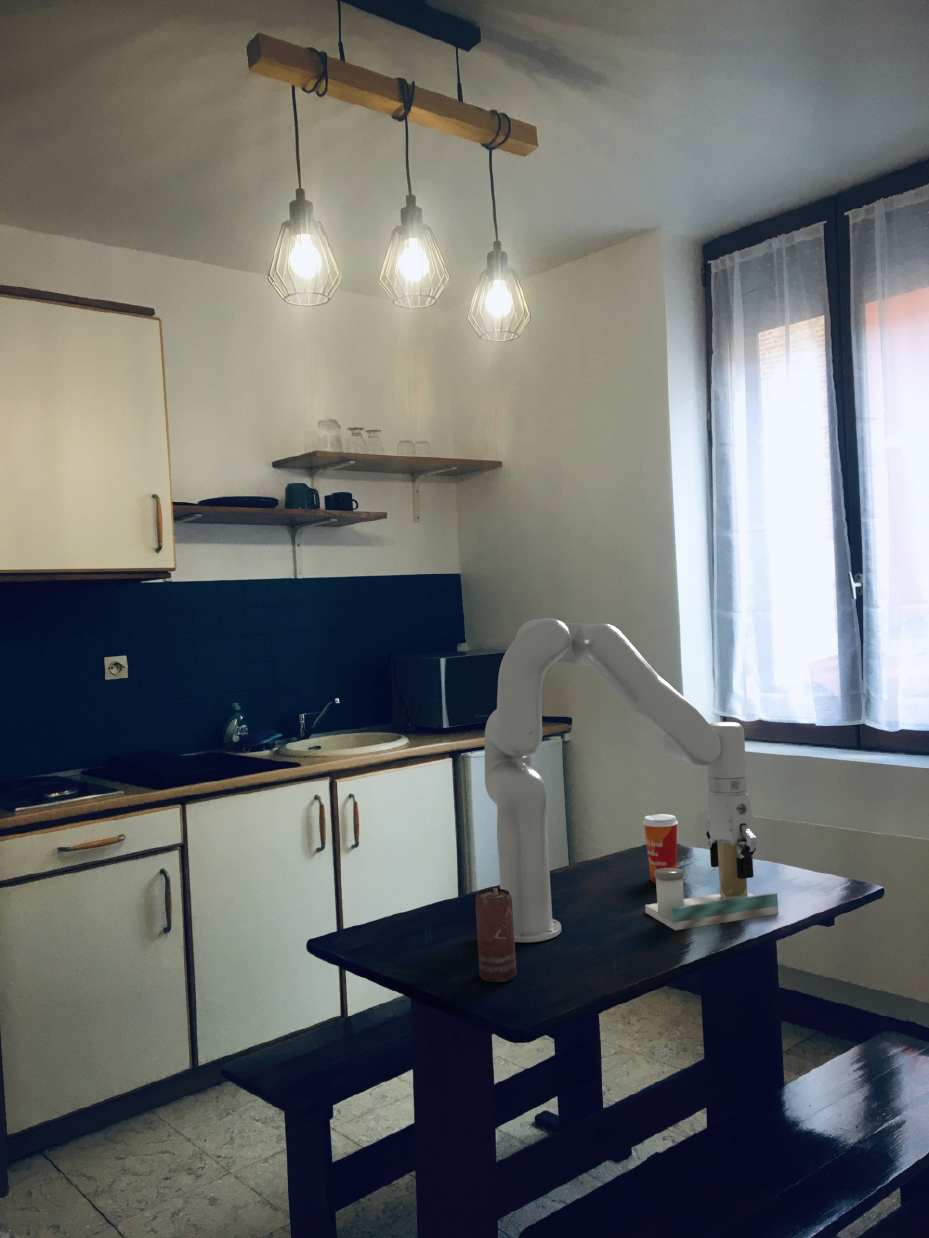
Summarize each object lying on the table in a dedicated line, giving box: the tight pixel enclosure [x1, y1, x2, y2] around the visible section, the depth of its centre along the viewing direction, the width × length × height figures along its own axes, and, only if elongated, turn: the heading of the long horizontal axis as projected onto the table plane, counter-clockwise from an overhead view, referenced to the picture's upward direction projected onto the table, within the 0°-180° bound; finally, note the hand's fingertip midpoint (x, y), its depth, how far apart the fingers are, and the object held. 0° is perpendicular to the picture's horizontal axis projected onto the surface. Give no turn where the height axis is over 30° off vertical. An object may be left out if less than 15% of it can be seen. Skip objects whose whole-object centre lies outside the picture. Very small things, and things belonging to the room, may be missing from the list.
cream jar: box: [654, 867, 685, 917], centre depth 179 cm, size 5×5×8 cm
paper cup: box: [642, 813, 679, 884], centre depth 207 cm, size 8×8×14 cm
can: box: [474, 887, 517, 984], centre depth 156 cm, size 6×6×14 cm
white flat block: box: [644, 891, 779, 931], centre depth 182 cm, size 22×12×4 cm, turn 106°
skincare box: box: [717, 839, 748, 900], centre depth 185 cm, size 6×4×12 cm
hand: (731, 871), depth 185 cm, fingers open, 9 cm apart
